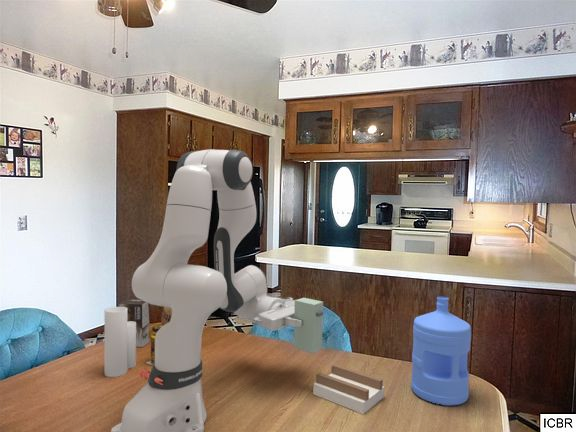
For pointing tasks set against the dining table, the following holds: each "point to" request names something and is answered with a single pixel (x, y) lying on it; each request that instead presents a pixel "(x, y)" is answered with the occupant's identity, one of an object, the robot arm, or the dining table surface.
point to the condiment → (153, 343)
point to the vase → (119, 342)
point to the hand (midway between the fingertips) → (308, 321)
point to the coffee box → (138, 319)
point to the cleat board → (349, 388)
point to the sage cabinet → (308, 325)
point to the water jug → (441, 356)
